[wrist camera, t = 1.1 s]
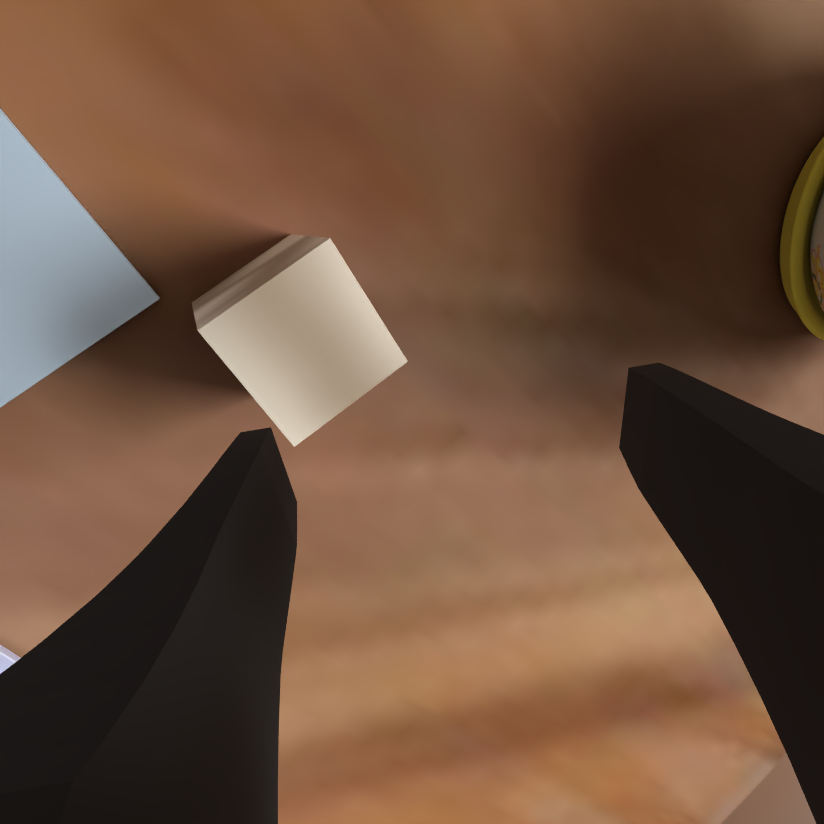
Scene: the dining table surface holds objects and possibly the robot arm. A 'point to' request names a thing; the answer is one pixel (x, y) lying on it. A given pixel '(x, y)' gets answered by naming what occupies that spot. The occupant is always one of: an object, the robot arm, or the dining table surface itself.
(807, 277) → the flowerpot
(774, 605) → the robot arm
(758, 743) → the dining table surface
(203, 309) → the birch block
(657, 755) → the dining table surface
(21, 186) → the base
